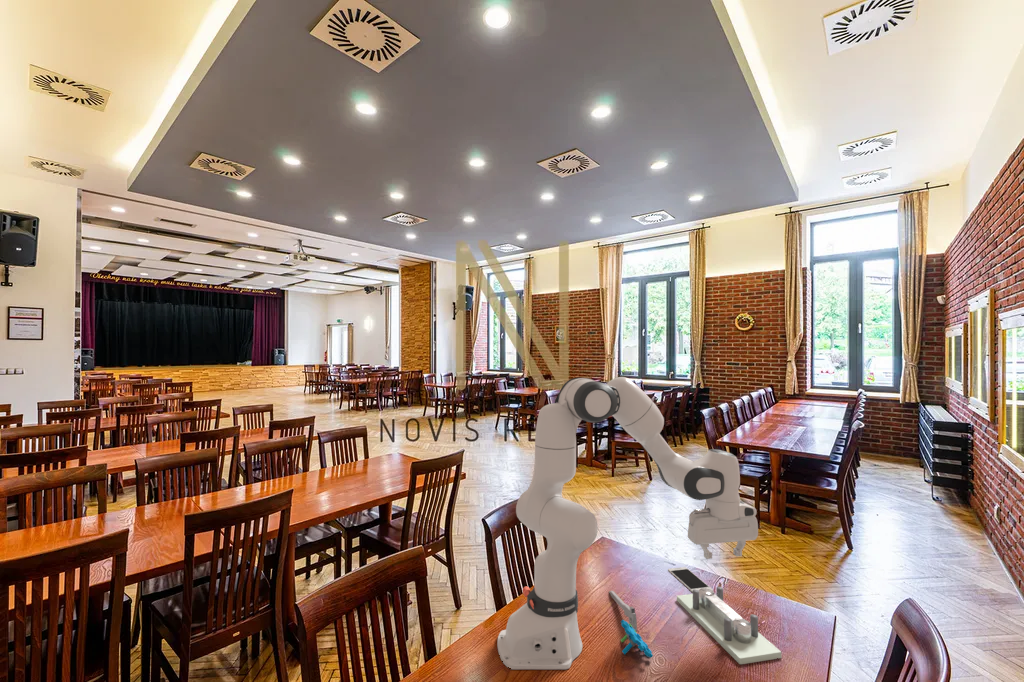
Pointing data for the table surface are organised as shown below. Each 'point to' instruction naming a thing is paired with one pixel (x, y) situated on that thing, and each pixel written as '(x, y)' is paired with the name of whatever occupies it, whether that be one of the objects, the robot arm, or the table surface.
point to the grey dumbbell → (725, 615)
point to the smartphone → (688, 579)
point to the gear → (634, 640)
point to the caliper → (626, 610)
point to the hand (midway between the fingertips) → (722, 556)
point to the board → (734, 646)
